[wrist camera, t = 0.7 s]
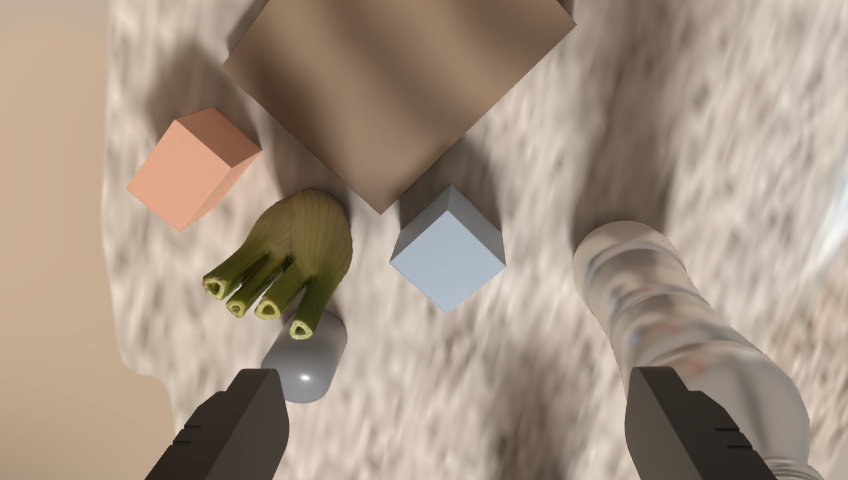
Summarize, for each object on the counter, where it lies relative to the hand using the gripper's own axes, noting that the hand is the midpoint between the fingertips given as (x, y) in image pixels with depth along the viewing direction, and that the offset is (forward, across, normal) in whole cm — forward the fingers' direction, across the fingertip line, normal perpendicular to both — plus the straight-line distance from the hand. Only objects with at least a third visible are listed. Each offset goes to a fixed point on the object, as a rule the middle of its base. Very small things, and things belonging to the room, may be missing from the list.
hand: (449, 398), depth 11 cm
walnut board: (+22, +3, -8) cm, 23 cm away
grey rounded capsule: (+23, +12, +13) cm, 29 cm away
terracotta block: (+22, +16, -2) cm, 28 cm away
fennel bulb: (+22, +10, +3) cm, 25 cm away
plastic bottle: (+22, -11, +6) cm, 25 cm away
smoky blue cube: (+22, 0, +4) cm, 23 cm away
